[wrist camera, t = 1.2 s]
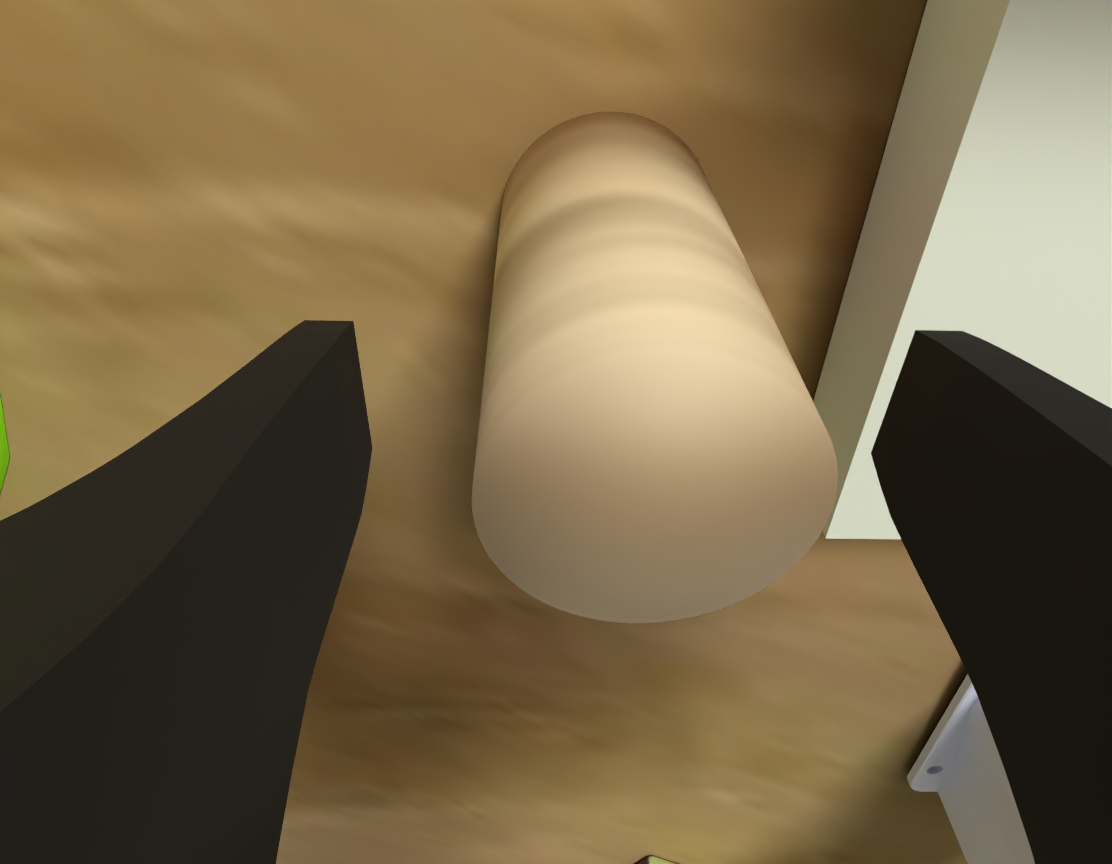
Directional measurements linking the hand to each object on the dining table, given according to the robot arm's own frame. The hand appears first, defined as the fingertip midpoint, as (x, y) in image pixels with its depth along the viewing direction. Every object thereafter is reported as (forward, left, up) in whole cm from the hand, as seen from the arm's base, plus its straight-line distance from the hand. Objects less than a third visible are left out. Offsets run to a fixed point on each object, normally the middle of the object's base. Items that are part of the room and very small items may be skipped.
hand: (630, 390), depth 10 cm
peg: (0, 0, -6) cm, 6 cm away
